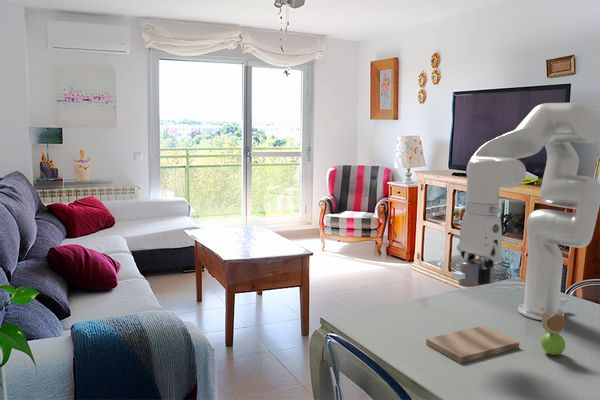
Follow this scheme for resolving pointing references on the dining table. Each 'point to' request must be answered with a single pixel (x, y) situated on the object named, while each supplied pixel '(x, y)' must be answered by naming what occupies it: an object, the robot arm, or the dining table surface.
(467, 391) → the dining table surface
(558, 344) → the snail figurine
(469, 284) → the block
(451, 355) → the walnut board
